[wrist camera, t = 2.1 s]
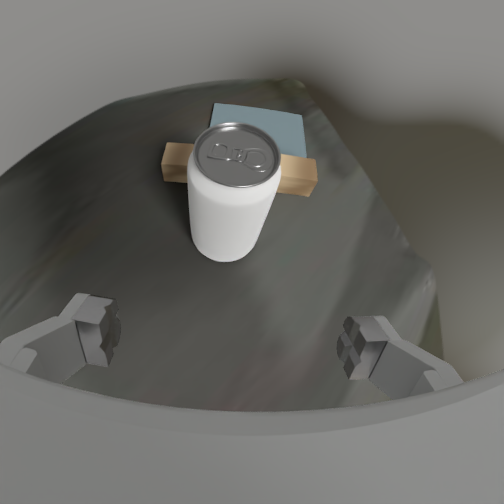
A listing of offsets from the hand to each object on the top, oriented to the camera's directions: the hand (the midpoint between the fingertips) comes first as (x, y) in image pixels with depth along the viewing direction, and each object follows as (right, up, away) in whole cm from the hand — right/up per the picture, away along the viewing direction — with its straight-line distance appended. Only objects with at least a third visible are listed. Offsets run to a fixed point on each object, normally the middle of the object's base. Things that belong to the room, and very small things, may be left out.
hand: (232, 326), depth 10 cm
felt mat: (+1, +17, +25) cm, 30 cm away
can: (-2, +4, +19) cm, 20 cm away
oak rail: (-1, +11, +22) cm, 24 cm away
